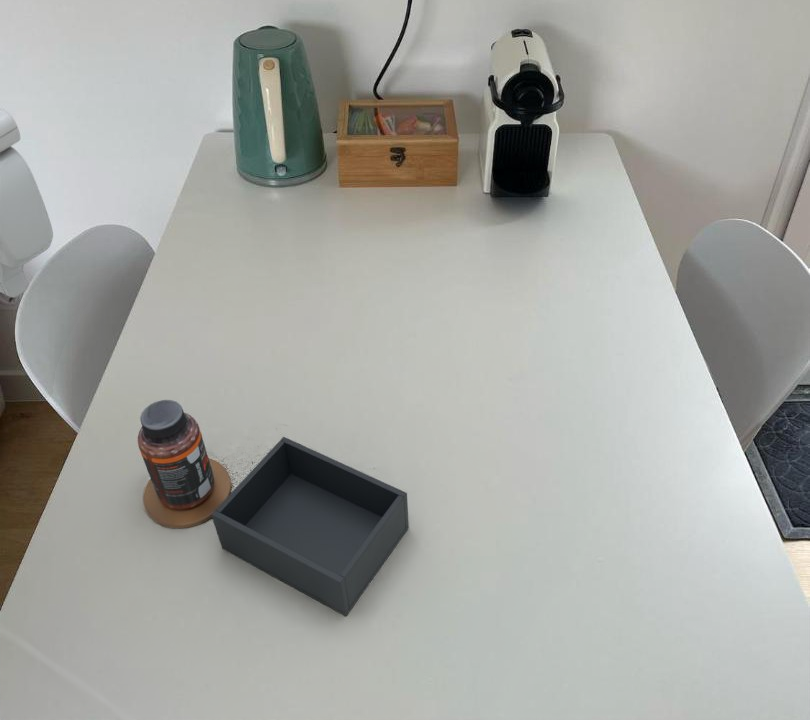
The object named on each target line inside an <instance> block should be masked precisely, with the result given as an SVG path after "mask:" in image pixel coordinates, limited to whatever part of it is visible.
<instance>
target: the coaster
mask: <svg viewBox="0 0 810 720" xmlns="http://www.w3.org/2000/svg"><path fill="white" fill-rule="evenodd" d="M208 458H209V461H210V465H211V468H212V471H213V476H214V487H213V490H212V492H211V494H210V495H209V497H208V498H207V499H206V500H205V501H203V502H202V503H200V504H199V505H197V506H195V507H192V508H188V509H172V508H169V507H167V506H166V505H164V504H163V503H162V502H161V501H160V499H159V498H158V495H157V493H156V491H155V488H154V486H153V483H152V481H151V478H150V479H149V480H148V482H147V483H146V486H145V488H144V491H143V495H142V496H143V497H142V501H143V506H144V509H145V511H146V513H147V515H148V516H149V517H150V519H151V520H152V521H153V522H156V523H157V524H158V525H160V526H163V527H166V528H171V529H187V528H193V527H196V526H199V525H201V524H204V523H206V522H207V521H209V520H211V519H212V516H211V514H212V513H213V512H214V511H215V510H216V509H217V508H218V507H219V506H220V504H221V503H222V502H223V501H224V500H225V499H226V498H227V497H228V496H229V495H230V494H231V493H232V488H233V487H232V479H231V476H230V473H229V471H228V470H227V468H226V467H225V466H224V465H223V464H222V463H221V462H219V461H217V460H215V459H213V458H210V457H208Z"/></svg>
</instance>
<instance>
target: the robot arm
mask: <svg viewBox="0 0 810 720" xmlns="http://www.w3.org/2000/svg"><path fill="white" fill-rule="evenodd" d="M20 140H21V133H20V129H19V126H18V124H17V122H16V120H15V118H14V117H13V115H12V114H11V113H10V112H8V110H6V109H5V108H2V107H1V106H0V293H1V294H3V295H5V296H8V297H9V298H11V299H12V298H17V297H18V296H20V295H21V294H23V293H24V292H26V291H27V290H28V288H29V282H28V279H27V277H26V275H25V272H24V266H25V265H26V264H27V263H29V262H30V261H32V260H34V259H35V258H37V257H38V256H40V255H41V254H43V253H44V252H46V251H48V250H49V248H50V247H51V245H52V243H53V239H54V231H53V226H52V222H51V220H50V217H49V214H48V211H47V208H46V205H45V203H44V199H43V197H42V195H41V191H40V189H39V186H38V183H37V182H36V179H35V177H34V175H33V172H32V170H31V168H30V167H29V165H28V163H27V161H26V160H25V159H24V157H23V155H21V154H20V152H18V150H17V149H15V148H14V147H13V146H14V145H15V144H17V143H19V142H20Z"/></svg>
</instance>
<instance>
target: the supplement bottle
mask: <svg viewBox="0 0 810 720" xmlns="http://www.w3.org/2000/svg"><path fill="white" fill-rule="evenodd" d="M139 418H140V423H141V427H140V429H139V431H138V435H137V445H138V449H139V451H140V455H141V458H142V459H143V462H144V465H145V467H146V471H147V473H148V475H149V478H150V479H151V481H152V483H153V486H154V488H155V491H156V493H157V495H158V498H159V499H160V501H161V502H162V503H163V504H164V505H166V506H167V507H169V508H172V509H188V508H192V507H195V506H197V505H199V504H200V503H202V502H203V501H205V500H206V499H207V498H208V497H209V495H210V494H211V492H212V490H213V487H214V476H213V471H212V468H211V465H210V461H209V458H210V457H209V456H208V452H207V448H206V445H205V442H204V439H203V435H202V432H201V429H200V426H199V424H198V422H197V420H196V419H195V417H193V416H192V415H190V413H186V412H185V411H184V409H183V406H182V405H181V404H180V403H179V401H178V402H177V401H175V400H173V399H159V400H157V401H154V402H152V403H150V404H149V405H147V406H146V407H145V408H144V409H143V410H142V412H141V413H140V417H139Z"/></svg>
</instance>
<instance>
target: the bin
mask: <svg viewBox="0 0 810 720" xmlns="http://www.w3.org/2000/svg"><path fill="white" fill-rule="evenodd" d="M408 506H409V505H408V492H406V491H404V490H402V489H400V488H397V487H395V486H392V485H391V484H388V483H386V482H384V481H382V480H380V479H377V478H375V477H373V476H371V475H369V474H366V473H365V472H363V471H360V470H357V469H356V468H354V467H351V466H349V465H347V464H345V463H342V462H340V461H338V460H335V459H334V458H332V457H329V456H327V455H325V454H323V453H320V452H319V451H317V450H314V449H312V448H310V447H307V446H306V445H303V444H301V443H298V442H297V441H294V440H292V439H290V438H288V437H286V436H282V438H281V439H280V440H279V441H278V442H277V443H276V444H275V445H274V446H273V447H272V449H270V450H269V452H267V454H266V455H264V457H263V458H262V459H261V460H260V461H259V463H257V465H256V466H255V467H254V468H253V469H252V470H251V471H250V472H249V473H248V474H247V475H246V476H245V477H244V479H243V480H242V481H241V482H240V483H239V484H238V485H237V486H236V487H235V488H234V489H233V490H232V491H231V494H230V495H229V496H228V497H227V498H226V499H225V500H224V501H223V502H222V503H221V504H220V506H219V507H218V508H217V509H216V510H215V511H214V512H213V513H212V514H211V516H212V518H211V519H212V522H213V525H214V528H215V531H216V534H217V537H218V540H219V543H220V547H221V549H222V550H224V551H225V552H227V553H229V554H231V555H233V556H235V557H236V558H238V559H240V560H242V561H244V562H245V563H247V564H249V565H251V566H252V567H254V568H255V569H258V570H260V571H262V572H263V573H265V574H268V575H269V576H271V577H273V578H274V579H276V580H278V581H280V582H281V583H282V582H283V583H284V584H286V585H287V586H289V587H291V588H293V589H295V590H297V591H298V592H300V593H302V594H304V595H306V596H308V597H309V598H311V599H313V600H315V601H317V602H318V603H320V604H322V605H324V606H326V607H328V608H329V609H331V610H333V611H335V612H337V613H339V614H340V615H343V616H344V617H347V616H348V615H349V613H350V612H351V610H352V609H353V608H354V606H355V604H356V603H357V602H358V600H359V599H360V597H362V595H363V593H364V592H365V590H366V589H367V588H368V586H369V585H370V583H371V582H372V581H373V580H374V578H375V577H376V575H377V574H378V572H379V571H380V570H381V568H382V566H383V565H384V564H385V563H386V561H387V559H388V558H389V557H390V556H391V554H392V553H393V551H394V550H395V548H396V547H397V545H398V544H399V542H400V541H401V540H402V538H403V537H404V535H405V534H406V533H407V531H408V530H409V528H410V527H409V525H410V524H409V507H408Z"/></svg>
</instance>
